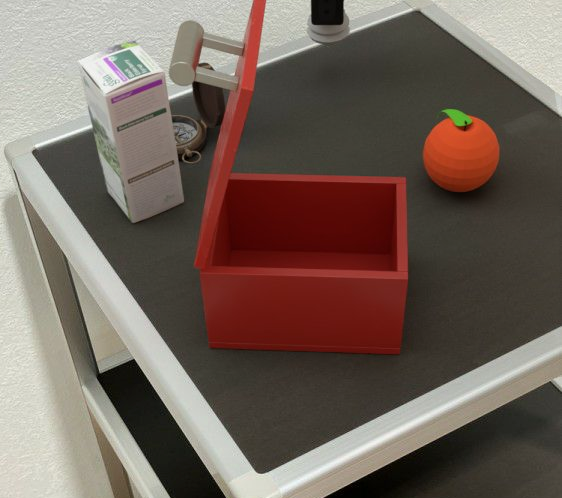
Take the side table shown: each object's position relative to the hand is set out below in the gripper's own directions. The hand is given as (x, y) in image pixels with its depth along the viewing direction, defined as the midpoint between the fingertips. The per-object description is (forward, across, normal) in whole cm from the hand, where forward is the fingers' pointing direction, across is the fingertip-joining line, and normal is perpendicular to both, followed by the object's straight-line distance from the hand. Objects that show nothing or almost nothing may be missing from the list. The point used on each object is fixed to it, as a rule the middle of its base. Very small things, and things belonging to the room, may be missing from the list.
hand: (328, 10), depth 98 cm
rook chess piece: (+3, 0, 0) cm, 3 cm away
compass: (+7, -13, +14) cm, 20 cm away
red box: (+8, -33, +1) cm, 34 cm away
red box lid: (-10, -33, +5) cm, 35 cm away
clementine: (+8, -17, -12) cm, 23 cm away
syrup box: (+7, -21, +17) cm, 27 cm away
